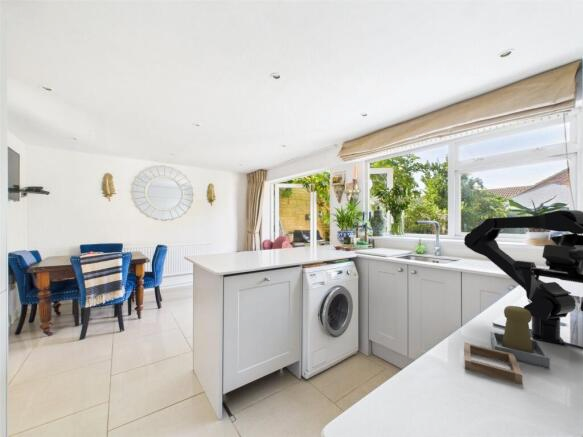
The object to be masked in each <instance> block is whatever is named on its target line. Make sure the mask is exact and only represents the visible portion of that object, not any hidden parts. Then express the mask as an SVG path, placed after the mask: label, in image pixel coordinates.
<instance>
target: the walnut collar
mask: <svg viewBox="0 0 583 437" xmlns="http://www.w3.org/2000/svg"><path fill="white" fill-rule="evenodd" d="M463 348H464V349H463V350H464V369H465V370H469V371H471V372H475V373H478V374H481V375H486V376H489V377H493V378H496V379H500V380H504V381H507V382H509V383H514V384H518V385H521V386H522V385H523V373H522V371H521V369H520V366H519V362H517V360H516V358H515V355H514V354H512V353H508V352H504V351H499V350H495V349H493V348H491V347H486V346H482V345H478V344H477V345H476V344H472V343H468V342H464V347H463ZM471 355H475V356H479V357H483V358H486V359H490V360H496V361H498V362H504V363H506V364H508V367H509V368H506V367H502V366H498V365H494V364H490V363H487V362H483V361H478V360H476V359H472V358H471Z"/></svg>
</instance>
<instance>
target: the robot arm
mask: <svg viewBox="0 0 583 437" xmlns="http://www.w3.org/2000/svg"><path fill="white" fill-rule="evenodd" d="M502 229H539V230H545V231H553V232H559V233H560V232H561V233H560V234H559V235H554V236H551V237H550V240H551V241H552V242H553V243H554V244H544V247H543V250H542V256H541V257H542V258H543V259H545V262H544V264H545V265H546V267H549V268H545V267H537V265H536V264H535V262H534V261H525V260H518V259H517V260H515V259H514V258H513V257H511V256H510V255H509V254H507V253H506V252H505V251H504V250H502V249H501V248H500V246H499V244H498V242H497V240H496V239H497V238H498V236H499V235H500V232H501V231H502ZM564 232H565V233H566V232H567V233H566V234H563V233H564ZM568 232H569V233H568ZM463 243H464V245H465V247H466V248H468V249H469V250H471V251H472V252H474V253H476V254H479V255H481V256H484V257H485V258H487V259H488V260H489V261H491V263H493V264H494V265H495V266H496V267H497V268H499V269H500V270H501V271H503V273H505V274H506V275H507V276H508V277H510V279H511V280H513V281H514V282H516V284H518V286H520V287H521V288H522V289H523V290H524V291H525V292H526V298H527V300H529V301H530V303H528V304H526V305H525V306H523V308H525V309H527V310H528V311H529V312H530V313H531V316H532V319H531V328H529V330H530V336H531V339H533V340H537V341H544V342H549V343H555V344H558V345H566V341H565V340H564V339H563V338H562V337H561V318H566V317H567V316H568V314H570V313H571V312H574V310H575V309H576V300H575V298H574V297H573V296H572V295H571V294H572V293H571V292H570V291H568V290H566V289H564V287H562V286H561V285H560V284H559V283H557V282H556V281H552V282H551V281H550V282H545V281H543V280H541V279H540V277H545V278H552V279H558V280H561V281H566V282H573V283H578V284H583V211H581V210H576V209H575V210H574V209H566V210H565V209H559V210H553V211H548V212H545V213H544V212H543V213H540V214H537V215H528V216H527V215H524V216H507V217H498V216H494V217H492V216H491V217H488V218H486V219H485V220H483V222H482V223H480V224H479V225H478V226H476V227H474V228H473V229H472V230H471V231H470V232H469V233H467V234H466V235H465V236H464V240H463ZM579 309H580V311H581V312H583V300H581V304H580V308H579Z"/></svg>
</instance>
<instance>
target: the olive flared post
mask: <svg viewBox="0 0 583 437" xmlns="http://www.w3.org/2000/svg"><path fill="white" fill-rule="evenodd" d="M503 315H504V317H505V318H506V321H505V327H504V331H503V334H504V336H503V342H502V347H506V348H511V349H515V350H520V351H524V352H529V353H533V348H532V342H531V339H532V336H531V335H530V330H529V329H530V324H529V323H530V322H532V316H531V313H530V312H529V311H528V310H527V309H525V308H524V307H521V306H515V305H508V306H506V307H504V309H503Z"/></svg>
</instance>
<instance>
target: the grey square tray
mask: <svg viewBox="0 0 583 437" xmlns="http://www.w3.org/2000/svg"><path fill="white" fill-rule="evenodd" d="M503 336H504V333H501V332H496V331H492V330H491V331H490V341H491V346H492V349H495V350H499V351H504V352H508V353H512V354H514V355H515V358H516V360H517V363H523V364H526V365H530V366H535V367H539V368H543V369H548V370H550V364H551V362H550V361H551V360H550V358H551V357H550V356H549V355H548V353H547V352H546V350H545V349H544V347H543V345H542V344H541V343H540V340H538V339H533V338H531V342H532V348H533V353H529V352H524V351H520V350H515V349H511V348H506V347H502V342H503Z"/></svg>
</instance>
